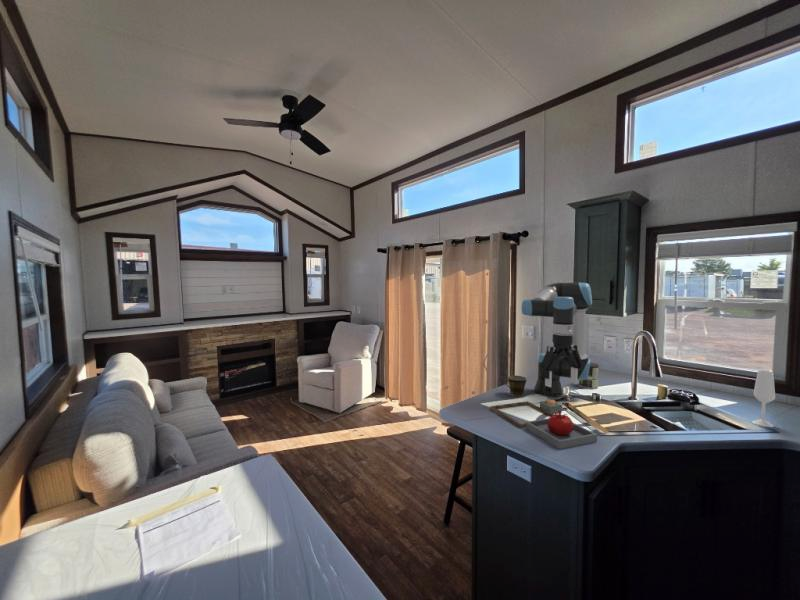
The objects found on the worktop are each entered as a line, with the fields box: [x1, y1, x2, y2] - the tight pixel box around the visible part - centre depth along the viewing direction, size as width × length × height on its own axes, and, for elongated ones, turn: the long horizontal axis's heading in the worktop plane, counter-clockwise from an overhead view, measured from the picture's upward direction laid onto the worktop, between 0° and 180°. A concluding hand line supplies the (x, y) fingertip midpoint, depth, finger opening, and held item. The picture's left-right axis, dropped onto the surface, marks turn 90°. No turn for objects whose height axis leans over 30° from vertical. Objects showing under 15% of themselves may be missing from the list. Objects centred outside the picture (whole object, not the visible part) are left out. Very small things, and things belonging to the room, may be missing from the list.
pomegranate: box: [547, 411, 574, 436], centre depth 138 cm, size 10×10×9 cm
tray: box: [525, 417, 598, 450], centre depth 138 cm, size 19×19×3 cm
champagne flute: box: [751, 369, 776, 428], centre depth 149 cm, size 7×7×24 cm
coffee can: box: [578, 362, 600, 390], centre depth 203 cm, size 10×10×14 cm
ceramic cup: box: [504, 375, 527, 398], centre depth 186 cm, size 13×10×10 cm
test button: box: [546, 398, 556, 405], centre depth 164 cm, size 4×4×4 cm
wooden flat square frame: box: [489, 400, 555, 429], centre depth 159 cm, size 23×23×2 cm
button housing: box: [539, 400, 563, 415], centre depth 164 cm, size 7×7×4 cm
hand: (561, 384), depth 137 cm, fingers open, 13 cm apart
